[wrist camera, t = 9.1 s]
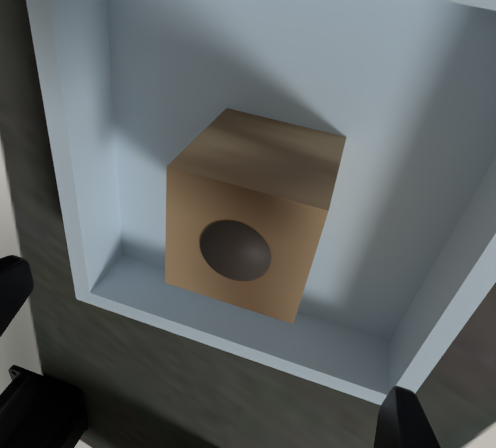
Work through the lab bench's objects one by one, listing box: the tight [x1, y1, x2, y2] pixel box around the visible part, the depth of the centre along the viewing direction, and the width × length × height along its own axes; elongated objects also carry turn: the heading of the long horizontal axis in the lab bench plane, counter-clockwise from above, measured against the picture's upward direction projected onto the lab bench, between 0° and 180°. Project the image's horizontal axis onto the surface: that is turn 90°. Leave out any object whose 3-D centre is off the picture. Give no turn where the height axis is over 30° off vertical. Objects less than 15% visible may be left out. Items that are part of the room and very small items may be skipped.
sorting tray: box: [26, 0, 496, 405], centre depth 15 cm, size 16×16×4 cm
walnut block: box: [165, 108, 346, 324], centre depth 14 cm, size 4×4×5 cm
